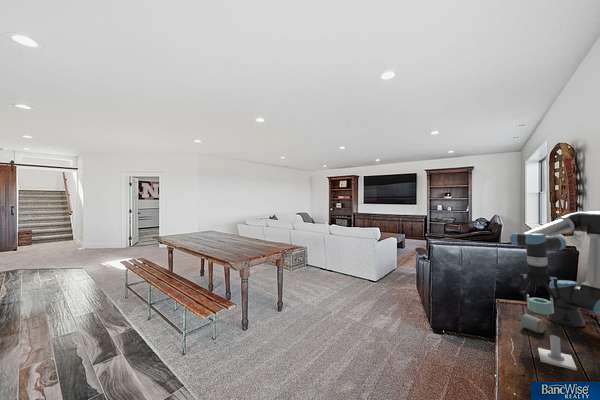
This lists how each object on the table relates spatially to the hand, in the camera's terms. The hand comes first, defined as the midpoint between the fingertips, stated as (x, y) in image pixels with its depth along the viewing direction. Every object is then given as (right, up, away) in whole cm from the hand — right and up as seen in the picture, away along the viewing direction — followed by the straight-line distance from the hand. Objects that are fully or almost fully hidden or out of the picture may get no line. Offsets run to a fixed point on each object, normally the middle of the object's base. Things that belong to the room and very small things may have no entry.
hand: (540, 310), depth 126 cm
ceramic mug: (+9, -17, +13) cm, 24 cm away
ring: (0, 0, 0) cm, 0 cm away
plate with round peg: (-5, -17, -13) cm, 22 cm away
